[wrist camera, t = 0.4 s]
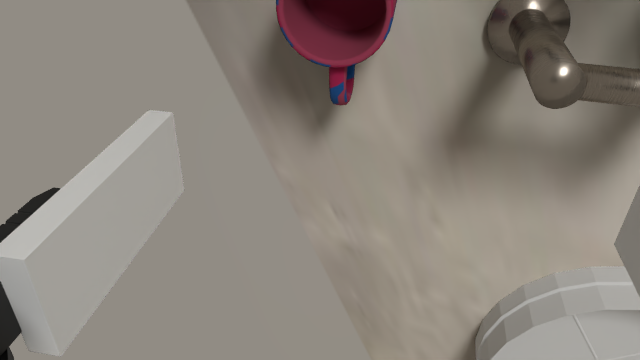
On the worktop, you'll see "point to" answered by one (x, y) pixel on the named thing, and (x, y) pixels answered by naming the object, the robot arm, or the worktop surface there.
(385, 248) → the worktop surface
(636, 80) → the rail
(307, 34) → the mug
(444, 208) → the worktop surface
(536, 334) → the dish
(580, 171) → the worktop surface
